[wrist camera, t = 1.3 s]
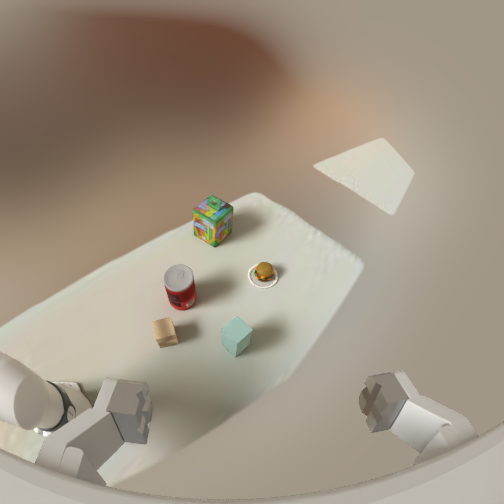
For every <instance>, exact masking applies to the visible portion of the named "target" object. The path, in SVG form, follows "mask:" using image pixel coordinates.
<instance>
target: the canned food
mask: <svg viewBox="0 0 504 504" xmlns="http://www.w3.org/2000/svg"><path fill="white" fill-rule="evenodd" d="M164 284H165V288H166V291H167V295H168V298H169V301H170V304H171V305H172V306H173V307H174V308H175V309H177V310H186V309H189V308H190V307H191V306H192V305H193V304H194V302H195V300H196V292H195V284H194V276H193V273H192V270H191V269H190V268H189V267H187V266H185V265H174V266H172V267H170V268H169V269H168V270H167V271H166V272H165V274H164Z"/></svg>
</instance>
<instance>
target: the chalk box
mask: <svg viewBox="0 0 504 504" xmlns="http://www.w3.org/2000/svg"><path fill="white" fill-rule="evenodd" d="M193 219H194V235H195V236H197V237H199V238H200V239H202V240H204V241H205V242H207V243H209V244H210V245H212V246H213V247H216V246H217V245H218V244H219V243H220V242H221V241H222V240H223V239H224V238H225V237H226V236H227V235H228V234H230V233H231V230H232V219H233V206H231V205H230V204H228V203H226V202H224V201H222V200H220V199H219V198H217V197H215V196H212V195H210V196H209V197H208V198H207V199H206V200H204V201H203V202H202V203H201V204H199V205H198V206H197V207H196V208H194V209H193Z"/></svg>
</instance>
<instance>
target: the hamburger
mask: <svg viewBox="0 0 504 504" xmlns="http://www.w3.org/2000/svg"><path fill="white" fill-rule="evenodd" d="M254 268H255V269H256V270H255V272H254V275H255V276H256V279H258V280H259V281H261V282H267V281H269V280H271V278H272V275H273V274H275V280H274V282H273V283H272V284H271V285H269V286H259V285H257V284H255V283H254V282H253V281H252V279H251V272H252V270H253V269H254ZM248 278H249V280H250V282H251V283H252V284H253V285H255V286H256V287H259V288H269V287H271V286H273V285H274V284H275V283H276V282H277V280H278V274H277V271H276V270H275V269H274V268H273V267H272V265H271V264H270V263H267V262H261V263H259V264H255V265H253V266H252V267H251V268H250V269H249V272H248Z"/></svg>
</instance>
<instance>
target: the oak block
mask: <svg viewBox="0 0 504 504" xmlns="http://www.w3.org/2000/svg"><path fill="white" fill-rule="evenodd" d="M152 325H153V329H154V333H155V338H156V341H157V342H158V344H159V346H160V348H162V347H166V346H170V345H174V344H178V339H177V336H176V332H175V329H174V325H173V322H172V319H171V317H169V318H165V319H161V320H157V321H152Z"/></svg>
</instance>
